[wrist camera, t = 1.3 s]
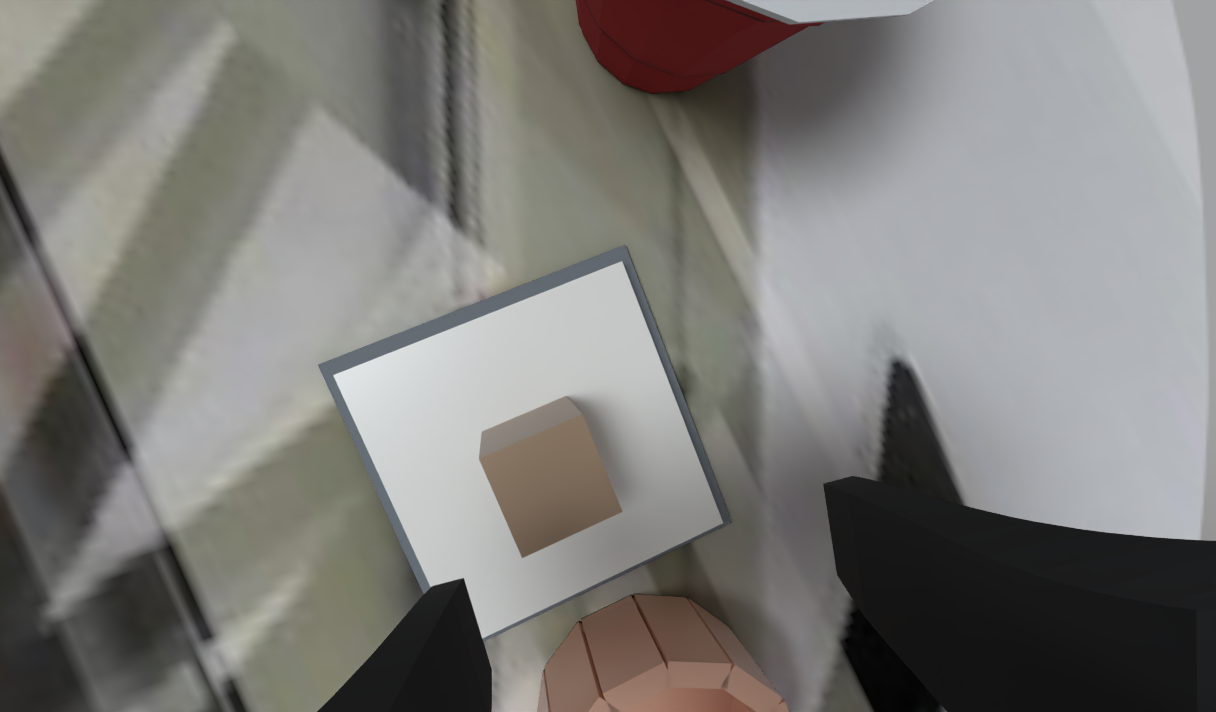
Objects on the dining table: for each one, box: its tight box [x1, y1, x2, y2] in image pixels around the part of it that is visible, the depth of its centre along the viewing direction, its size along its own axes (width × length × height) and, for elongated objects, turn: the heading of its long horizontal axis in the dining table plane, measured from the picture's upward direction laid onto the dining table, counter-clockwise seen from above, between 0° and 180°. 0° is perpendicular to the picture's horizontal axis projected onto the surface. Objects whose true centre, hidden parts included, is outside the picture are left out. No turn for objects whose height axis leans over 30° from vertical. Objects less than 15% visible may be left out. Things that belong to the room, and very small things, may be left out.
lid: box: [333, 261, 723, 639], centre depth 19 cm, size 10×10×5 cm
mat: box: [318, 245, 731, 642], centre depth 21 cm, size 11×11×1 cm
